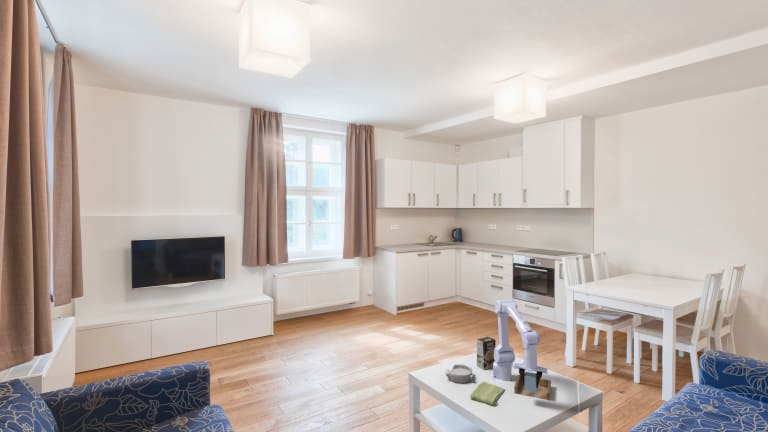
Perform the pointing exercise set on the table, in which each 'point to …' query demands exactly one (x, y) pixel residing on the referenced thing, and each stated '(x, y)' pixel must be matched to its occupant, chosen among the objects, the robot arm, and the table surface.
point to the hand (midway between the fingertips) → (530, 385)
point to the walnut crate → (541, 392)
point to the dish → (460, 373)
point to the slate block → (530, 382)
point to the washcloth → (487, 393)
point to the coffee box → (485, 352)
